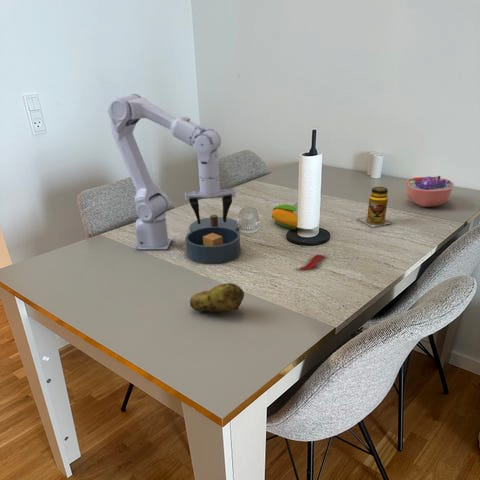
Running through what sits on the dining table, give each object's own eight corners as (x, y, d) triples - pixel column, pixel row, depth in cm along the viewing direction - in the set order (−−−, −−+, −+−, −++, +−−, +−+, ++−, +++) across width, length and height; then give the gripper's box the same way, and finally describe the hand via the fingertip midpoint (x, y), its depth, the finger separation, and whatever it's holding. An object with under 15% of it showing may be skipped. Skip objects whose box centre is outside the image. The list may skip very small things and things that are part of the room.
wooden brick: (213, 255, 142) (212, 240, 139) (203, 251, 145) (202, 236, 142) (223, 251, 144) (222, 236, 142) (213, 247, 147) (212, 232, 144)
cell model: (454, 200, 182) (461, 171, 176) (443, 215, 168) (449, 184, 162) (410, 194, 190) (415, 166, 184) (396, 208, 175) (400, 178, 170)
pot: (183, 263, 138) (181, 246, 135) (191, 242, 152) (190, 226, 149) (238, 264, 137) (237, 246, 134) (241, 242, 151) (241, 226, 148)
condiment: (373, 227, 159) (377, 192, 153) (358, 219, 166) (362, 186, 160) (390, 224, 162) (395, 189, 156) (375, 216, 168) (379, 183, 162)
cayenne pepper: (303, 272, 131) (304, 266, 130) (292, 267, 134) (292, 261, 133) (333, 260, 137) (333, 254, 136) (321, 255, 140) (321, 250, 139)
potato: (206, 298, 120) (204, 270, 115) (249, 311, 114) (248, 282, 109) (186, 313, 114) (183, 283, 110) (230, 327, 108) (229, 297, 104)
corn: (280, 197, 165) (325, 210, 152) (281, 218, 169) (325, 232, 156) (266, 204, 161) (311, 217, 148) (267, 224, 165) (310, 239, 153)
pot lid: (191, 239, 154) (190, 226, 152) (188, 221, 169) (187, 209, 167) (242, 235, 156) (242, 222, 154) (235, 218, 171) (235, 206, 168)
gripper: (232, 171, 136) (233, 215, 144) (182, 174, 135) (186, 219, 142) (235, 177, 131) (237, 223, 138) (184, 180, 129) (188, 227, 136)
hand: (211, 222), depth 139 cm, fingers open, 7 cm apart
